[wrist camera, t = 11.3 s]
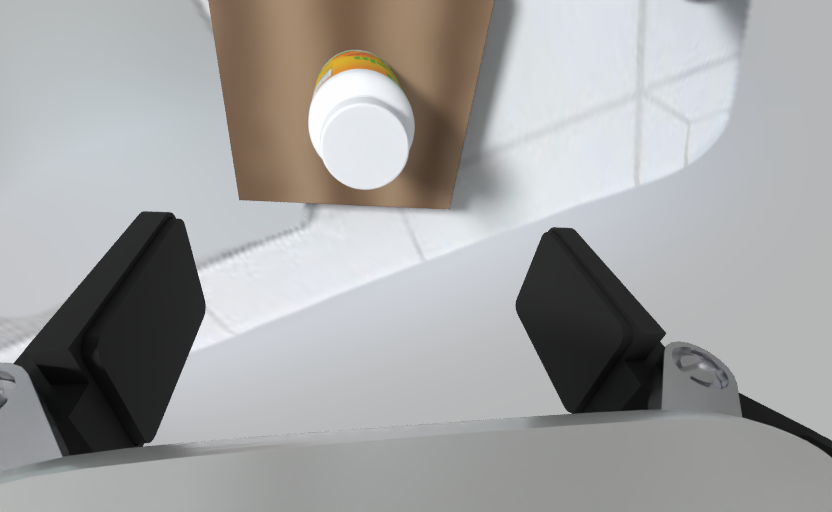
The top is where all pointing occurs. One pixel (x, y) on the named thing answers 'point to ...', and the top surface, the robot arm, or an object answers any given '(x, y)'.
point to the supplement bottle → (360, 120)
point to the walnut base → (296, 78)
